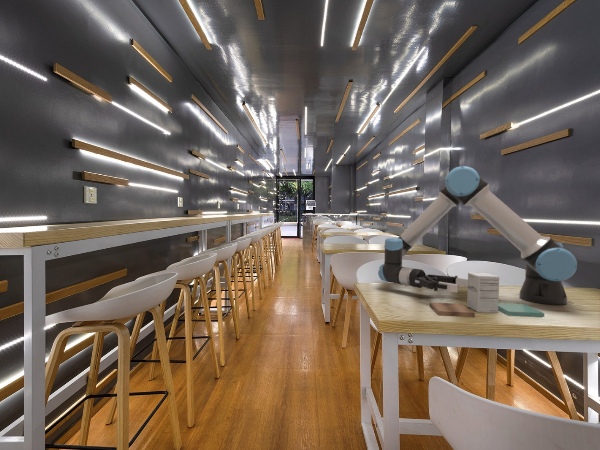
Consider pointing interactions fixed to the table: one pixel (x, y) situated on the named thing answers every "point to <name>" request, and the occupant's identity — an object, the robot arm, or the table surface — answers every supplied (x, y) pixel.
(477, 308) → the supplement box
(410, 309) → the table surface
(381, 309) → the table surface
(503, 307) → the plate
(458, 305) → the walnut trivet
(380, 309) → the table surface
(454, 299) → the table surface
